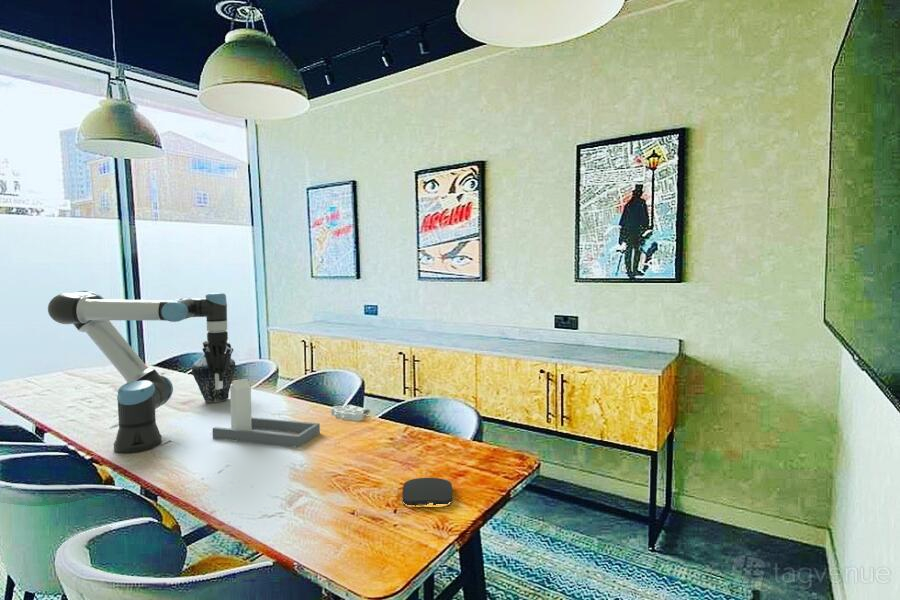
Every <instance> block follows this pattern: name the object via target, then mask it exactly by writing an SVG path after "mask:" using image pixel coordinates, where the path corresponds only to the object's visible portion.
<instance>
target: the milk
mask: <svg viewBox="0 0 900 600" xmlns="http://www.w3.org/2000/svg"><path fill="white" fill-rule="evenodd" d="M229 394H230V429H240V430H250V431H253V430H252V429H253V428H252V427H251V417H252V389H251V386H250V384H249V378H243V379H242V378H241V379H235V380H232V385H231V386H230V390H229Z"/></svg>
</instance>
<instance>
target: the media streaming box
mask: <svg viewBox="0 0 900 600" xmlns="http://www.w3.org/2000/svg"><path fill="white" fill-rule="evenodd" d="M451 501H452V502H453V485H452V482H451V481H449V480H447V479H445V478H444V479H443V478H439V477H438V478H437V477H417V478H412V479H409V480H407V481H405V482H403V486H402V503H403V502H404V503H405V504H407V505H415V506H416V505H427V504H429V503H433V505H436V504H448V503H449V502H451Z"/></svg>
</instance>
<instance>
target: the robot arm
mask: <svg viewBox="0 0 900 600" xmlns="http://www.w3.org/2000/svg"><path fill="white" fill-rule="evenodd" d="M47 312H48V315H49V317H50V318H51V319H52V320H53V321H55V322H57V323H58V324H62V325H73V326H74V327H75V328H76V330H78V332H81V333H86V335H88V336H89V338H90V339H91V340H92V341H93V343H94V344H95V345H96V346H97V347H98V349H99V350H100V351H101V352H102V353H103V355H104V356H105V357H106V359H108V361H109V362H110V363H111V364H112V365H113V367H114V368H115V369H116V370H117V371H118V372H119V374H120V375H121V376H122V377H123V378H124V380H125V381H126V383H125V384H123V385H121V386H120V387H119V388H118V390H117V396H116V400H117V412H118V417H117V418H118V429H117V433H116V437H115V440H114V442H113V450H114V452H116V453H121V454H129V453H130V454H131V453H140V452H145V451H147V450H148V451H149V450H151V449H155V448H157V447H158V446H160V445H161V444H162V443H163V440H162V434H161V433H160V430H159V428H158V425H157V422H156V421H157V420H156V410H157V409H158V408H160V407H162V406H163V405H164V404H166V403H167V402H168V401H169V400H170V398H171V397H172V395H173V392H174V387H173V383H172V381H171V380H170V378H168V377H166V376H164V375H161V374H160V373H158V371H157V370H156V369H155V368H149V367H148V366H147V365H146V363H145V362H144V361H143V360H142V359H141V358H140V356H139V355H138V354H137V352H136V351H135V350H134V349H133V348H132V346H131V345H130V343H128V341H127V340H126V339H125V338H124V337H123V335H122V334H121V333H120V332H119V330H118V329H117V328H116V326H114V325H113V323H112V322H111V321H165V322H167V321H168V322H170V323H176V322H181V321H184V320H187V319H189V318H206V331H207V333H206V340H207V341H208V346H207V347H206V348H204V347H203V348H202V351H203V355H204V354H205V357H206V361H207V365H208V370H209V371H211V372H213V376H214V381H215V389H216V390H219V389H222V388H223V381H224V372H226V371H228V370H229V364H230V359H231V357H232V354H233V353H234V348H232V347H231V348H229V347H228V344H227V343H228V339H229V337H228V336H229V335H228V303H227V296H226V294H225V293H223V292H210V293H206V294H205V297H202V298H195V297H194V298H193V297H192V298H191V297H189V298H186V297H181V298H175V299H174V300H156V299H155V300H149V299H147V300H145V299H105V298H104V297H103V296H101V294H98V292H94V291H88V290H80V291H76V292H64V293H60V294H58V295H55V296H54V297H53V298H52V299H50V300H49V303H48V305H47Z"/></svg>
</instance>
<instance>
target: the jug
mask: <svg viewBox="0 0 900 600" xmlns="http://www.w3.org/2000/svg"><path fill="white" fill-rule="evenodd" d="M227 344H228V347H229V348H232V345H231V344H230V343H229V342H227ZM202 346H203V348H206V347H207V346H208V341H205V340H204V341H203V342H202ZM235 371H236V361H235V360H234V359H233V358H231V359H230V364H229V370H228V371H226V372H224V381H223V388H222V389H219V390H216V389H215V381H214V376H213V372H211V371H209V370H208V365H207V361H206V357H205V354H204V353H203V356H202V357H201V358H200V359H198V360H197V361H195V362H193V364H192V366H191V373H192V375H193V378H194V380H195V382H196V385H197V386H198V389H199V391H200V394H201V395H202V397H203V400H204V402H207V403H219V402H224V401H227V400H228V399H229V394H230V387H231V386H232V385H231V384H232V383H233V378H234V376H235Z"/></svg>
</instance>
